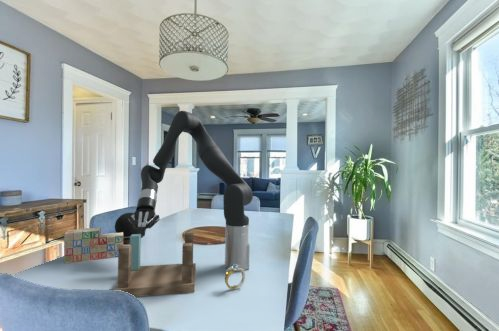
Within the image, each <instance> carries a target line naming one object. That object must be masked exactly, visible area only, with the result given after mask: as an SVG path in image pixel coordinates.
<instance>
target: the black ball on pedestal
mask: <svg viewBox="0 0 499 331" xmlns="http://www.w3.org/2000/svg"><path fill="white" fill-rule="evenodd" d="M129 215H130V216H132V215H134V212H125V213H123V214H121V215H120V216H119V217H118V218H117V219H116V220H115V223H114V230H115V233H121V232H123V245H130V236H131V235H132V234H137V230H138V229H135V228H134V227H133V225H132V224H131V223H130V221H129V219H128V216H129ZM134 221H135V222H136V223H137V224H138V221H137V219H136V218H135V220H134Z"/></svg>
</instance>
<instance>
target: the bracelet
mask: <svg viewBox="0 0 499 331" xmlns="http://www.w3.org/2000/svg"><path fill="white" fill-rule="evenodd" d="M238 265H239V264H238ZM238 265H237V264H236V265H234V264H233V266H231V267H230V268H229V269H228V270H227V269H226V270H227V271H226V272H225V275H224V282H225V283H224V284H225V285H226V287H227V288H228V289H229V290H234V291H236V290H238V289H240V288H241V287H242V286H243V284H244V283H245V280H246V273H245V270H243V269H242V268H240V265H239V266H238ZM231 269H233V270H232V271H230V270H231ZM235 270H240V271H239V272H241V281H240V282H239V283H238V284H237V285H236V284H235V285H233V286H232V285H230V284H229V282H228V281H229V278H230V276H232V274H233V273H235V272H236V271H235Z"/></svg>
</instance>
